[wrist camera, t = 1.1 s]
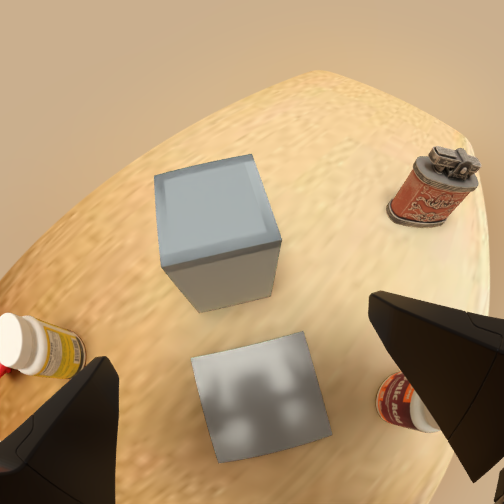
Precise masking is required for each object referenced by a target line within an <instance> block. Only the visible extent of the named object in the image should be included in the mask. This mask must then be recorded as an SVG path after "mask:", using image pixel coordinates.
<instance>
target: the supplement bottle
mask: <svg viewBox="0 0 504 504" xmlns="http://www.w3.org/2000/svg"><path fill="white" fill-rule="evenodd" d="M85 358H86V355H85V348H84V345H83V343H82V341H81V339H80V338H79V337H78V336H77V335H76V334H75V333H74V332H72V331H70V330H67V329H64V328H61V327H58V326H55V325H52V324H50V323H47V322H44V321H42V320H39V319H37V318H35V317H32V316H22V317H20V316H17V315H15V314H12V313H5V314H3V315H2V316H1V317H0V363H1V364H2V365H4V366H6V367H10V368H13V369H18V370H19V371H20V372H22V373H24V374H26V375H31V376H39V377H49V378H59V379H72V378H73V377H74V376H75V375H76V374H77V373H79V372H80V371H81V370H82V369H83V367H84V364H85Z"/></svg>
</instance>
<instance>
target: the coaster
mask: <svg viewBox="0 0 504 504" xmlns="http://www.w3.org/2000/svg"><path fill="white" fill-rule="evenodd" d="M191 362H192V367H193V371H194V376H195V380H196V384H197V388H198V392H199V396H200V400H201V404H202V408H203V412H204V416H205V419H206V423H207V427H208V430H209V434H210V437H211V441H212V444H213V447H214V450H215V454H216V457H217V460H218V463H224V462H230V461H236V460H242V459H247V458H252V457H257V456H262V455H266V454H270V453H274V452H278V451H282V450H286V449H290V448H293V447H297V446H300V445H303V444H307V443H310V442H313V441H316V440H319V439H322V438H325V437H328V436H331V435H332V431H331V427H330V424H329V420H328V416H327V413H326V409H325V405H324V402H323V398H322V394H321V391H320V387H319V384H318V380H317V376H316V373H315V369H314V366H313V362H312V359H311V356H310V352H309V349H308V345H307V342H306V338H305V335H304V332H303V331H301V332H298V333H294V334H291V335H287V336H284V337H280V338H276V339H272V340H269V341H265V342H261V343H257V344H253V345H249V346H244V347H240V348H236V349H231V350H227V351H222V352H218V353H213V354H208V355H203V356H198V357H193V358H191Z"/></svg>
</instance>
